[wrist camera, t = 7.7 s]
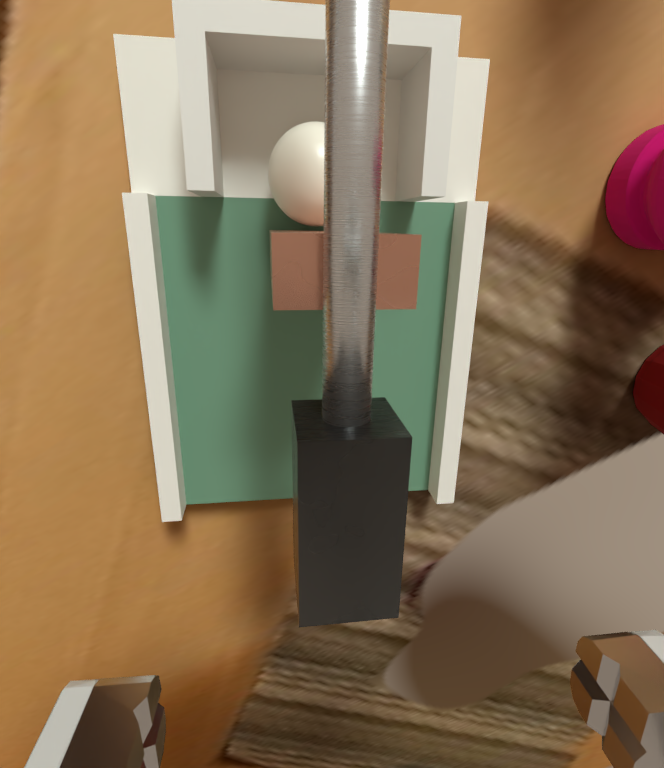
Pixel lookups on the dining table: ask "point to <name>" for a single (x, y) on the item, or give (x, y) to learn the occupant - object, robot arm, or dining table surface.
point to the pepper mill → (639, 192)
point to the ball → (299, 173)
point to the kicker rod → (349, 345)
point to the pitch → (261, 213)
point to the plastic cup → (651, 389)
